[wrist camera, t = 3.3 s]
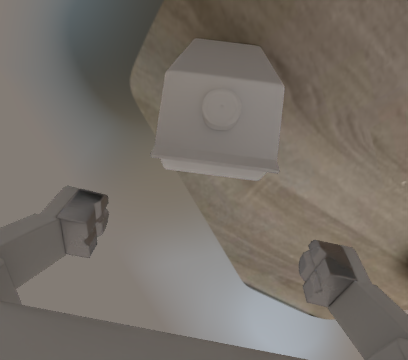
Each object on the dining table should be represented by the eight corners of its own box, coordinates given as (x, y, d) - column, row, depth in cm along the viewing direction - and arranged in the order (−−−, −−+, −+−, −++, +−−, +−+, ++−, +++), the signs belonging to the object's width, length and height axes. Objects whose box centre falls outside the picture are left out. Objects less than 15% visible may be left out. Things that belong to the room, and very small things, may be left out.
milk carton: (247, 110, 31) (264, 218, 16) (189, 102, 32) (151, 204, 16) (260, 45, 27) (300, 108, 12) (194, 37, 27) (148, 89, 12)
